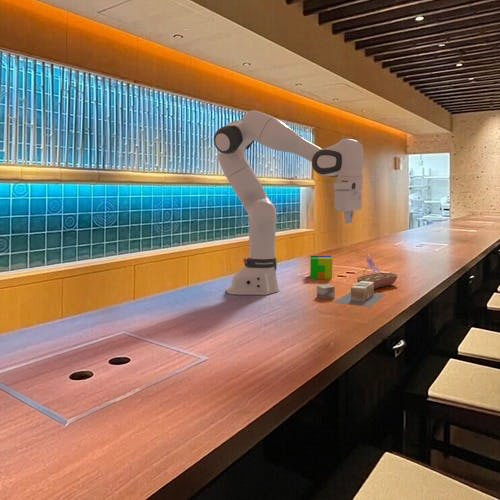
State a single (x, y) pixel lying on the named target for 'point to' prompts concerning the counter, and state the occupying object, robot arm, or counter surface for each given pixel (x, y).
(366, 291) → the maple block
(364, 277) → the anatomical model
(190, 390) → the counter surface
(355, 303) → the slate mat
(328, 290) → the grey block
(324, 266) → the puzzle toy
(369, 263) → the lily
